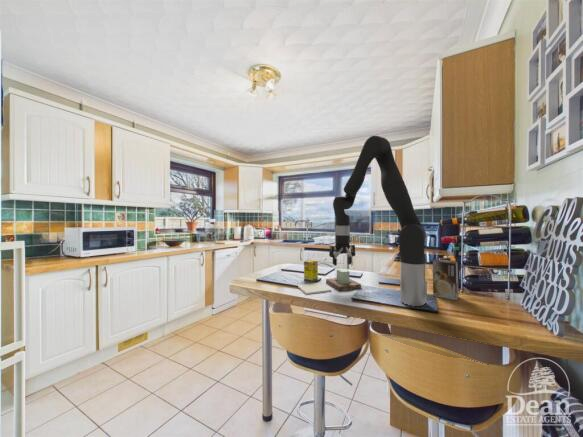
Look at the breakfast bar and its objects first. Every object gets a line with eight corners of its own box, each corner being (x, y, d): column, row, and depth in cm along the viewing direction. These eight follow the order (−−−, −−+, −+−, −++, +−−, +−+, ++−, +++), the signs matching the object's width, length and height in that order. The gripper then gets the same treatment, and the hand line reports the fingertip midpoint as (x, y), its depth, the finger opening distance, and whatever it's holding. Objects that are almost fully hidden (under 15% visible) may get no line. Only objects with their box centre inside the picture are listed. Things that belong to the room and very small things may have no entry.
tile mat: (319, 283, 126) (319, 282, 126) (330, 291, 114) (330, 289, 114) (297, 286, 122) (297, 284, 122) (306, 294, 110) (306, 292, 109)
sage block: (343, 283, 126) (343, 268, 126) (349, 286, 121) (349, 271, 121) (336, 284, 125) (336, 269, 125) (342, 287, 119) (342, 272, 119)
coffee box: (458, 296, 104) (459, 261, 104) (456, 301, 100) (456, 263, 99) (435, 292, 111) (435, 258, 110) (432, 295, 106) (432, 261, 106)
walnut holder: (346, 280, 132) (346, 276, 132) (361, 288, 118) (361, 284, 118) (326, 282, 128) (326, 279, 128) (339, 290, 114) (339, 286, 114)
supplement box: (312, 282, 129) (312, 262, 129) (303, 280, 133) (303, 261, 133) (318, 279, 134) (318, 260, 134) (309, 277, 138) (309, 259, 137)
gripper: (334, 235, 116) (333, 267, 117) (358, 234, 121) (358, 265, 121) (327, 233, 124) (326, 264, 124) (350, 233, 128) (350, 262, 129)
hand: (342, 264), depth 123 cm, fingers open, 8 cm apart
